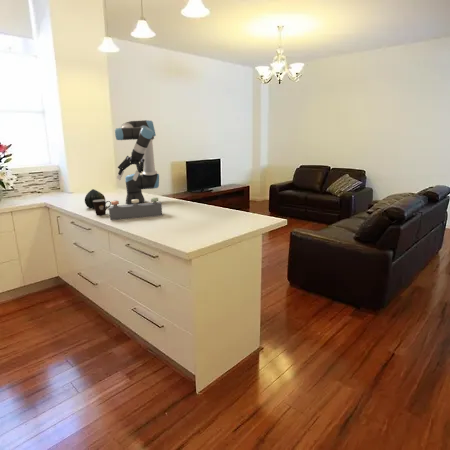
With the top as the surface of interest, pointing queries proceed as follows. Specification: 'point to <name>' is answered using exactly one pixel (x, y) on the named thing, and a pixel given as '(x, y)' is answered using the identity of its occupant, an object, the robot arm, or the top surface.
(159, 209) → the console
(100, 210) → the coffee mug
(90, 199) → the squash
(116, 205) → the button terracotta
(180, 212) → the top surface
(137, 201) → the button cream
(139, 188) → the robot arm
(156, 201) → the button sage
